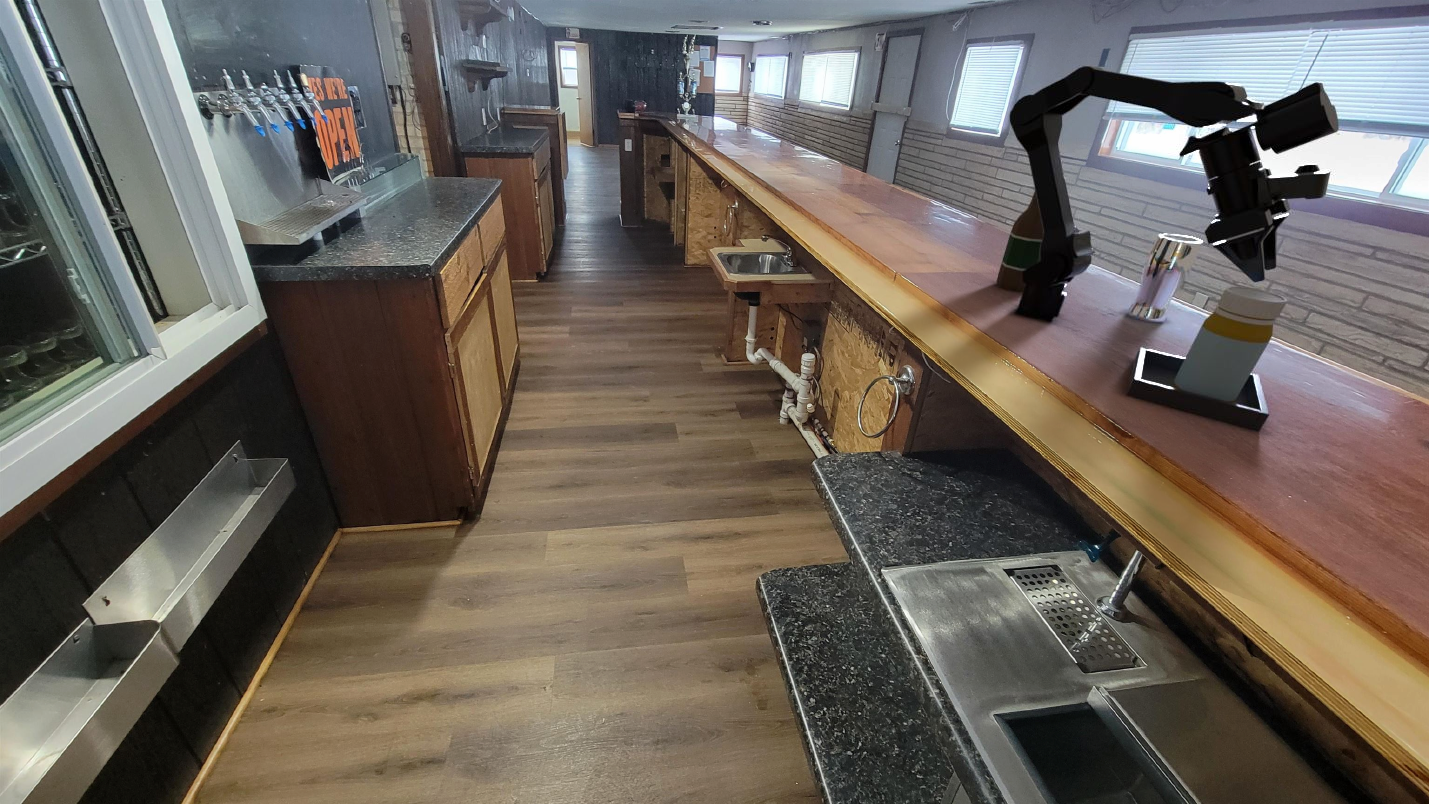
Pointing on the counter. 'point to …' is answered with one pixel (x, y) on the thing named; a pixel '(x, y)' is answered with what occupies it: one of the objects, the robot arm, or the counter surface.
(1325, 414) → the counter surface
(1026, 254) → the beer bottle
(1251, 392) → the tray
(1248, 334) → the bottle
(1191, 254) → the beer glass
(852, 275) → the counter surface
